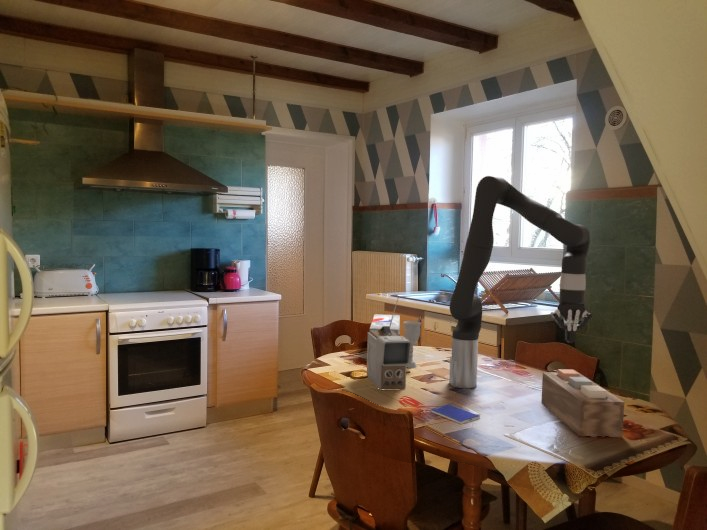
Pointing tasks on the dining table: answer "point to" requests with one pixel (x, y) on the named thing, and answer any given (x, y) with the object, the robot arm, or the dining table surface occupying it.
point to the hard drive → (455, 413)
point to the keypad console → (582, 408)
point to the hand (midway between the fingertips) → (569, 342)
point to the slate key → (579, 382)
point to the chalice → (412, 337)
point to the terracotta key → (567, 373)
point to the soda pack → (386, 322)
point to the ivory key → (593, 391)
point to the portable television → (387, 358)
